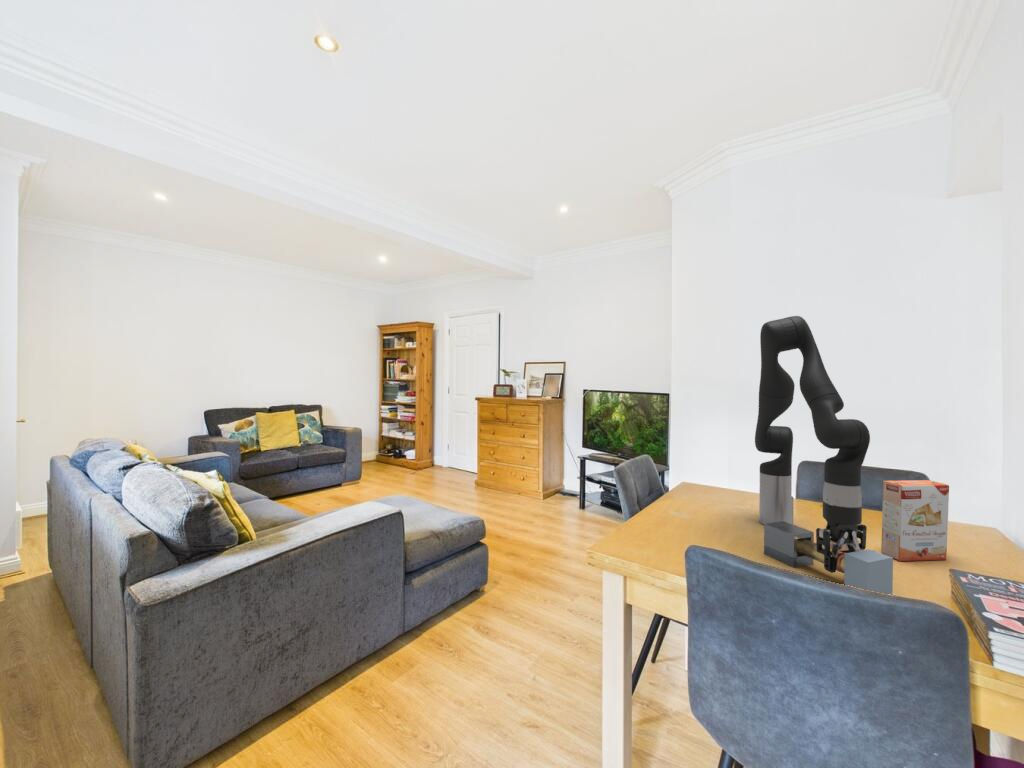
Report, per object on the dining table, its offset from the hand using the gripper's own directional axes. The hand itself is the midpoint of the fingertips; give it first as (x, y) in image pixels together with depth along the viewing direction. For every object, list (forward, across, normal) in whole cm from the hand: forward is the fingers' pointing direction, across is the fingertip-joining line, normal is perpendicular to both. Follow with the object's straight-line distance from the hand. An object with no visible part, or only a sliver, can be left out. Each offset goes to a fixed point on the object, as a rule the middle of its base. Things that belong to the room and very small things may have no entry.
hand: (841, 568), depth 104 cm
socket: (+3, 0, +6) cm, 7 cm away
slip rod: (+1, 0, -3) cm, 3 cm away
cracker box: (+3, -34, -4) cm, 34 cm away
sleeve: (+3, 0, -14) cm, 14 cm away
